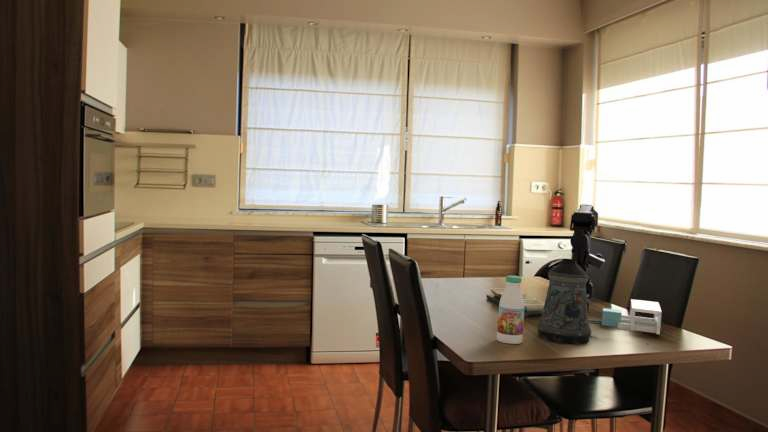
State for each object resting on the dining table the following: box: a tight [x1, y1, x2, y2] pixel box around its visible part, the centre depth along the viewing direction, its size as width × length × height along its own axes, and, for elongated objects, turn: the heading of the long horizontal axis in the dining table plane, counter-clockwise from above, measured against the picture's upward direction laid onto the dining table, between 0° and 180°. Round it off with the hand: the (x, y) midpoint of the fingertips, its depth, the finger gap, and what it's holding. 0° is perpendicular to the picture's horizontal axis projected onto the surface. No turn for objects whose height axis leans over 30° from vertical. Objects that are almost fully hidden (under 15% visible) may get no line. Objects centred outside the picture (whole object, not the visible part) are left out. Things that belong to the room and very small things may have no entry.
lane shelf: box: [617, 298, 663, 335], centre depth 218 cm, size 21×18×9 cm
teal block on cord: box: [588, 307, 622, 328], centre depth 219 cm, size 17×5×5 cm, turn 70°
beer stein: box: [536, 258, 592, 346], centre depth 201 cm, size 16×19×25 cm
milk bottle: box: [496, 275, 526, 345], centre depth 192 cm, size 8×8×20 cm
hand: (577, 289), depth 226 cm, fingers open, 9 cm apart
